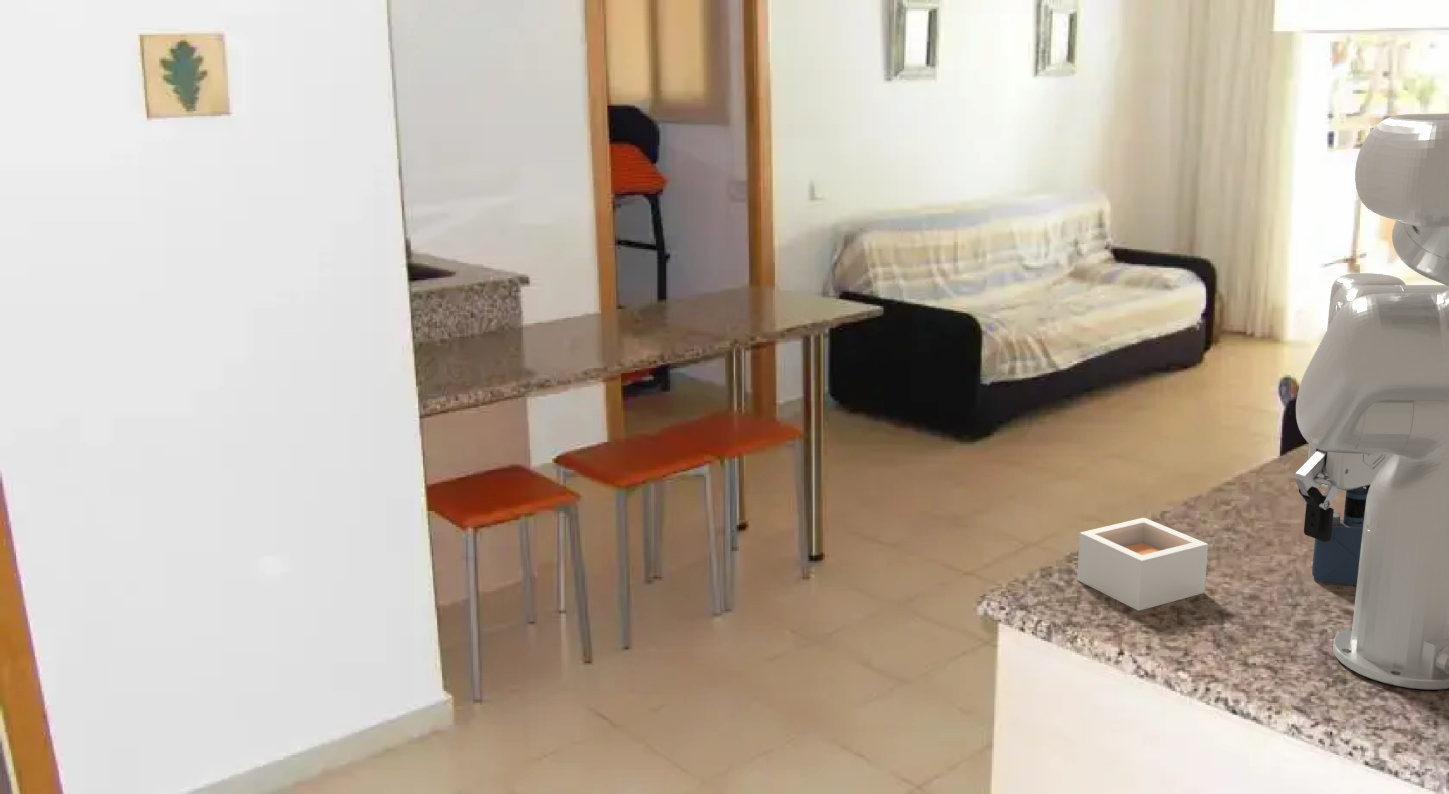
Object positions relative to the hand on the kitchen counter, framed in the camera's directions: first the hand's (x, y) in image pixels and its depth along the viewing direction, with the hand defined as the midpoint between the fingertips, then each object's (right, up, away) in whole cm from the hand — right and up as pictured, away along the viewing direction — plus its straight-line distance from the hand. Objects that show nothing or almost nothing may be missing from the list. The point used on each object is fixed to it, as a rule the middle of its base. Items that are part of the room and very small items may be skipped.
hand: (1343, 530), depth 146 cm
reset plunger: (-23, -6, +1) cm, 24 cm away
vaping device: (0, -6, +2) cm, 6 cm away
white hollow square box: (-23, -7, +1) cm, 24 cm away
